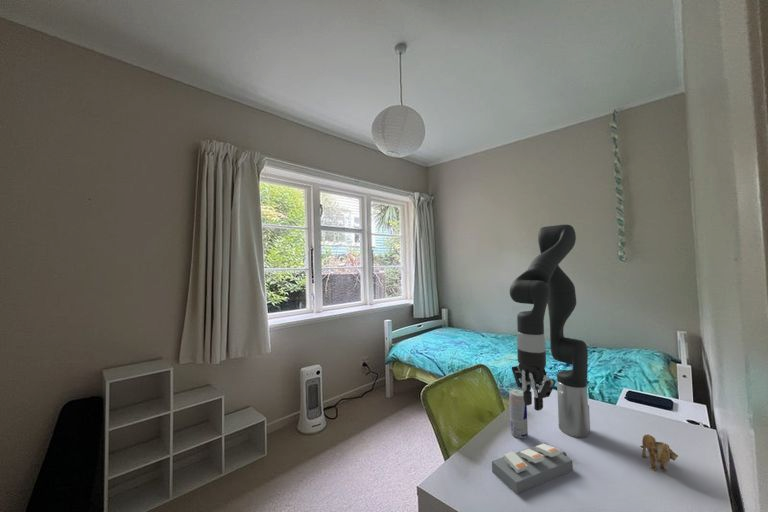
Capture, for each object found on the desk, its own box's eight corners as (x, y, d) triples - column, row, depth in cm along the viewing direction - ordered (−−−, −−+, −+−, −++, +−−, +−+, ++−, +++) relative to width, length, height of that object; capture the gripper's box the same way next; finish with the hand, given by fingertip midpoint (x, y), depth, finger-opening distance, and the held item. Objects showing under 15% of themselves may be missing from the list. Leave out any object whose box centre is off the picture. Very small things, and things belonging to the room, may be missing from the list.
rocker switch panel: (551, 449, 93) (551, 440, 94) (579, 467, 85) (579, 457, 85) (492, 471, 84) (491, 461, 84) (516, 493, 76) (516, 482, 76)
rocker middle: (530, 455, 87) (528, 448, 87) (544, 462, 82) (543, 454, 83) (521, 458, 86) (519, 451, 86) (535, 466, 81) (534, 458, 81)
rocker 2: (545, 450, 89) (543, 442, 90) (560, 456, 85) (558, 448, 85) (536, 453, 88) (535, 445, 88) (551, 459, 83) (550, 452, 84)
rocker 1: (512, 456, 85) (513, 450, 85) (526, 471, 80) (527, 465, 80) (503, 459, 84) (504, 453, 83) (517, 475, 79) (518, 468, 79)
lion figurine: (682, 482, 79) (680, 449, 79) (658, 478, 80) (656, 446, 81) (650, 449, 93) (648, 421, 93) (630, 446, 94) (629, 419, 95)
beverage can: (529, 440, 99) (528, 396, 99) (512, 438, 100) (511, 395, 100) (525, 430, 104) (523, 389, 105) (508, 429, 105) (507, 388, 106)
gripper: (562, 352, 79) (564, 415, 79) (521, 340, 92) (522, 394, 92) (543, 356, 76) (545, 421, 76) (503, 343, 89) (505, 399, 89)
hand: (533, 406), depth 84 cm, fingers open, 3 cm apart
